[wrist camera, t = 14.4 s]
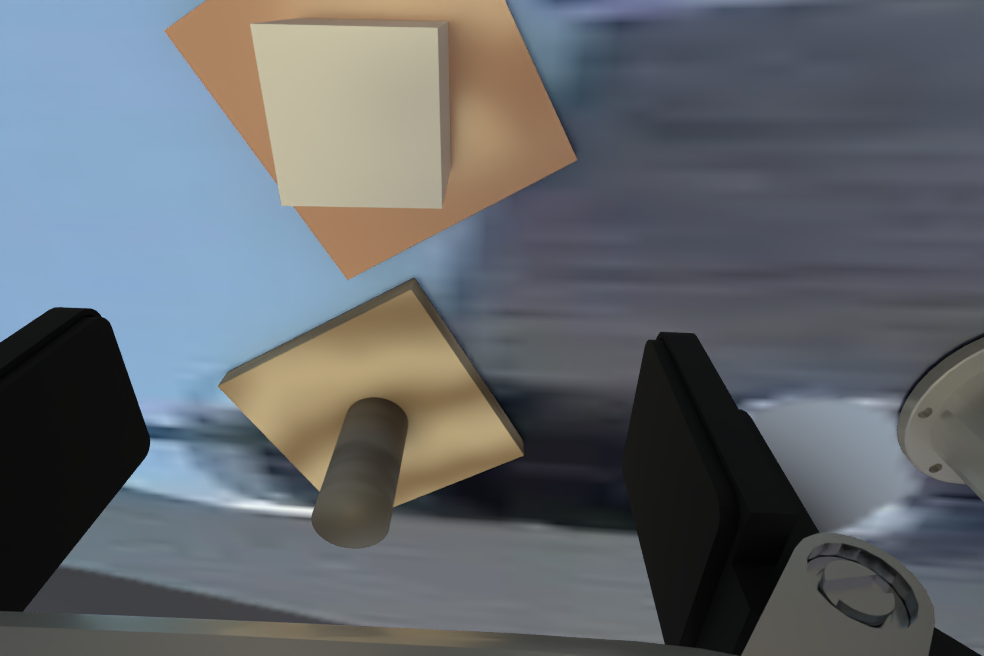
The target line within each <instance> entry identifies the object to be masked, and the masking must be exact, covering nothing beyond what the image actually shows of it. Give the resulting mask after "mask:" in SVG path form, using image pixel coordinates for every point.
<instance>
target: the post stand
mask: <svg viewBox="0 0 984 656" xmlns="http://www.w3.org/2000/svg"><path fill="white" fill-rule="evenodd" d="M218 387H219V388H220V389H221V390H222V391H223V392H224V393H225V394H226V395H227V396H228V397H229V399H230V400H231V401H232V402H233V403H234V404H235V405H236V406H237V407H238V408H239V409H240V410H241V411H242V412H243V413H244V414H245V415H246V416H247V417H248V418H249V419H250V420H251V421H252V422H253V423H254V424H255V425H256V426H257V427H258V428H259V429H260V431H261V432H262V433H263V434H264V435H265V436H266V437H267V438H268V439H269V440H270V441H271V442H272V443H273V444H274V445H275V446H276V447H277V448H278V449H279V450H280V451H281V452H282V453H283V454H284V455H285V456H286V457H287V458H288V459H289V460H290V461H291V463H292V464H293V465H294V466H295V467H296V468H297V469H298V470H299V471H300V472H301V473H302V474H303V475H304V476H305V477H306V478H307V479H308V480H309V481H310V482H311V483H312V484H313V485H314V486H315V487H316V488H317V489H318V490H319V491H320V492H319V495H318V498H317V501H316V504H315V507H314V510H313V513H312V518H311V519H312V525H313V527H314V529H315V531H316V532H317V533H318V534H319V535H320V536H321V537H322V538H323V539H325V540H326V541H328V542H330V543H332V544H334V545H337V546H340V547H344V548H354V549H355V548H365V547H370V546H373V545H375V544H377V543H379V542H380V541H381V540H383V539H384V538H385V536H386V535H387V533H388V531H389V526H390V521H391V516H392V510H393V507H395V506H397V505H400V504H402V503H405V502H407V501H410V500H412V499H415V498H418V497H420V496H423V495H425V494H428V493H430V492H433V491H435V490H438V489H440V488H443V487H445V486H448V485H450V484H453V483H455V482H458V481H460V480H463V479H465V478H468V477H471V476H473V475H476V474H478V473H481V472H483V471H486V470H488V469H491V468H493V467H496V466H498V465H501V464H503V463H506V462H508V461H511V460H513V459H516V458H518V457H521V456H523V455H524V450H523V440H522V438H521V437H520V435H519V434H518V432H517V431H516V429H515V428H514V426H513V425H512V423H511V422H510V420H509V419H508V417H507V416H506V414H505V413H504V411H503V410H502V408H501V407H500V405H499V404H498V402H497V401H496V399H495V398H494V396H493V395H492V393H491V392H490V390H489V389H488V387H487V386H486V384H485V383H484V381H483V380H482V378H481V377H480V375H479V374H478V372H477V371H476V369H475V368H474V366H473V365H472V363H471V362H470V360H469V359H468V357H467V356H466V354H465V353H464V351H463V350H462V348H461V347H460V345H459V344H458V342H457V341H456V339H455V338H454V336H453V335H452V333H451V332H450V330H449V329H448V327H447V326H446V324H445V323H444V321H443V320H442V318H441V317H440V315H439V314H438V312H437V311H436V309H435V308H434V306H433V305H432V303H431V302H430V300H429V299H428V297H427V296H426V294H425V293H424V291H423V290H422V288H421V287H420V285H419V284H418V283H417V281H416V280H415V278H413V279H411V280H409V281H407V282H405V283H403V284H401V285H399V286H397V287H395V288H393V289H391V290H389V291H387V292H385V293H383V294H381V295H379V296H377V297H375V298H373V299H371V300H369V301H367V302H365V303H363V304H361V305H359V306H357V307H355V308H354V309H352V310H350V311H348V312H346V313H344V314H342V315H340V316H338V317H336V318H334V319H332V320H330V321H328V322H326V323H324V324H322V325H320V326H318V327H316V328H314V329H312V330H310V331H308V332H306V333H304V334H302V335H300V336H298V337H296V338H294V339H292V340H290V341H288V342H286V343H284V344H282V345H280V346H278V347H276V348H274V349H272V350H270V351H268V352H266V353H264V354H262V355H261V356H259V357H257V358H255V359H253V360H251V361H249V362H247V363H245V364H243V365H241V366H239V367H237V368H235V369H233V370H231V371H229V372H227V374H226V375H225V376H224V378H223V379H222V381H221V382H220V384H219V385H218Z"/></svg>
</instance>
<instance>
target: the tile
mask: <svg viewBox="0 0 984 656" xmlns="http://www.w3.org/2000/svg"><path fill="white" fill-rule="evenodd" d="M293 18H333V19H377V20H421V21H448V35H449V95H450V154H451V171H450V176H449V180H448V185H447V189H446V194H445V198H444V203H443V207H442V209H430V208H375V207H320V206H294V208H295V209H296V211H297V212H298V213H299V215H300V216H301V217H302V219H303V220H304V221H305V223H306V224H307V225H308V227H309V228H310V230H311V231H312V232H313V234H314V235H315V236H316V238H317V239H318V240H319V242H320V243H321V244H322V246H323V247H324V249H325V250H326V251H327V253H328V254H329V255H330V257H331V258H332V259H333V261H334V262H335V263H336V265H337V266H338V268H339V269H340V270H341V272H342V273H343V274H344V276H345V277H346V278H347V280H348V279H350V278H352V277H354V276H356V275H358V274H360V273H362V272H364V271H366V270H368V269H370V268H371V267H373V266H375V265H377V264H379V263H381V262H383V261H385V260H387V259H389V258H391V257H393V256H394V255H396V254H398V253H400V252H402V251H404V250H406V249H408V248H410V247H412V246H414V245H416V244H417V243H419V242H421V241H423V240H425V239H427V238H429V237H431V236H433V235H435V234H437V233H439V232H440V231H442V230H444V229H446V228H448V227H450V226H452V225H454V224H456V223H458V222H460V221H462V220H464V219H465V218H467V217H469V216H471V215H473V214H475V213H477V212H479V211H481V210H483V209H485V208H487V207H488V206H490V205H492V204H494V203H496V202H498V201H500V200H502V199H504V198H506V197H508V196H510V195H511V194H513V193H515V192H517V191H519V190H521V189H523V188H525V187H527V186H529V185H531V184H533V183H534V182H536V181H538V180H540V179H542V178H544V177H546V176H548V175H550V174H552V173H554V172H556V171H557V170H559V169H561V168H563V167H565V166H567V165H569V164H571V163H573V162H575V161H577V158H576V156H575V154H574V151H573V149H572V147H571V145H570V143H569V140H568V138H567V136H566V134H565V132H564V129H563V127H562V125H561V123H560V120H559V118H558V116H557V114H556V112H555V109H554V107H553V105H552V103H551V101H550V98H549V96H548V94H547V92H546V90H545V87H544V85H543V83H542V81H541V79H540V76H539V74H538V72H537V70H536V67H535V65H534V63H533V61H532V59H531V56H530V54H529V52H528V50H527V48H526V45H525V43H524V41H523V39H522V37H521V34H520V32H519V30H518V28H517V25H516V23H515V21H514V19H513V17H512V14H511V12H510V10H509V8H508V6H507V3H506V1H505V0H206V1H205V2H204V3H202V4H201V5H199V6H198V7H197V8H195V9H194V10H192V11H191V12H190V13H188V14H187V15H185V16H184V17H183V18H181V19H180V20H178V21H177V22H176V23H174V24H173V25H171V26H170V27H169V28H167V29H166V30H164V31H165V33H166V34H167V35H168V37H169V38H170V39H171V41H172V42H173V43H174V45H175V46H176V47H177V49H178V50H179V52H180V53H181V54H182V56H183V57H184V58H185V60H186V61H187V62H188V64H189V65H190V67H191V68H192V69H193V71H194V72H195V73H196V75H197V76H198V77H199V79H200V80H201V81H202V83H203V84H204V86H205V87H206V88H207V90H208V91H209V92H210V94H211V95H212V96H213V98H214V99H215V100H216V102H217V103H218V105H219V106H220V107H221V109H222V110H223V111H224V113H225V114H226V115H227V117H228V118H229V119H230V121H231V122H232V124H233V125H234V126H235V128H236V129H237V130H238V132H239V133H240V134H241V136H242V137H243V139H244V140H245V141H246V143H247V144H248V145H249V147H250V148H251V149H252V151H253V152H254V153H255V155H256V156H257V158H258V159H259V160H260V162H261V163H262V164H263V166H264V167H265V168H266V170H267V171H268V172H269V174H270V175H271V177H272V178H273V179H274V181H275V182H276V183H277V185H278V182H277V177H276V171H275V165H274V159H273V154H272V148H271V142H270V136H269V131H268V125H267V119H266V113H265V108H264V102H263V96H262V90H261V85H260V79H259V73H258V67H257V62H256V56H255V50H254V44H253V39H252V33H251V27H250V24H251V23H260V22H268V21H276V20H285V19H293Z"/></svg>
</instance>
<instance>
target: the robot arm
mask: <svg viewBox="0 0 984 656" xmlns="http://www.w3.org/2000/svg"><path fill="white" fill-rule="evenodd" d="M897 434H898V442H899V445H900V447H901V450H902V452H903V453H904V454H905V455H906V457H907V458H908V459H909V460H910V462H911V463H912V464H913V465H914V466H915V467H916V468H917V469H918V470H920V471H921V472H922V473H924V474H926V475H927V476H929V477H931V478H933V479H937V480H940V481H944V482H948V483H958V484H967V485H968V486H969V487H970V488H971V489H972V490H973V491H974V492H975V493H976V495H977V496H978V497H979V498H980V499H981V500H982V501H983V502H984V337H983V338H980V339H978V340H976V341H974V342H972V343H970V344H968V345H966V346H964V347H962V348H961V349H959V350H958V351H956V352H954V353H953V354H951V355H950V356H948V357H946V358H945V359H944V360H943V361H941V362H940V363H939V364H938V365H937V366H935V367H934V368H933V369H932V370H930V371H929V372H928V373H927V374H926V376H925V377H924V378H923V379H922V380H921V381H920V382H919V383H918V384H917V385H916V387H915V388H914V390H913V391H912V392H911V394H910V395H909V397H908V398H907V400H906V402H905V404H904V406H903V409H902V411H901V413H900V416H899V421H898V426H897ZM149 447H150V437H149V433H148V431H147V428H146V425H145V422H144V419H143V416H142V413H141V410H140V407H139V405H138V402H137V399H136V396H135V393H134V390H133V387H132V384H131V381H130V379H129V376H128V373H127V370H126V367H125V364H124V361H123V358H122V355H121V352H120V350H119V347H118V344H117V341H116V338H115V335H114V332H113V329H112V326H111V324H110V322H109V321H108V320H107V319H105V318H103V317H101V315H100V314H99V313H98V312H97V311H96V310H93V309H88V308H63V307H55V308H53V309H50V310H48V311H47V312H45V313H44V314H42V315H41V316H39V317H38V318H36V319H35V320H33V321H32V322H30V323H29V324H27V325H26V326H24V327H23V328H21V329H20V330H18V331H17V332H15V333H14V334H12V335H11V336H9V337H8V338H6V339H5V340H3V341H2V342H0V656H981V655H980V654H978V653H976V652H975V651H973V650H971V649H970V648H968V647H966V646H965V645H963V644H961V643H960V642H958V641H956V640H955V639H953V638H951V637H950V636H948V635H946V634H945V633H943V632H941V631H940V630H938V629H937V628H935V627H934V625H935V617H934V606H933V604H932V602H931V600H930V598H929V596H928V593H927V591H926V589H925V588H924V587H923V586H922V584H921V583H920V582H919V581H918V580H917V578H916V577H915V576H914V575H913V573H912V572H911V571H909V570H908V569H907V568H906V567H905V566H904V565H902V564H901V563H900V562H899V561H898V560H896V559H895V558H894V557H892V556H891V555H889V554H888V553H886V552H884V551H883V550H881V549H879V548H878V547H876V546H874V545H872V544H870V543H867V542H865V541H862V540H860V539H857V538H855V537H851V536H846V535H841V534H837V533H819V531H818V529H817V528H816V526H815V525H814V523H813V521H812V519H811V518H810V516H809V514H808V513H807V511H806V509H805V508H804V506H803V504H802V503H801V501H800V499H799V497H798V496H797V494H796V492H795V491H794V489H793V487H792V486H791V484H790V482H789V481H788V479H787V477H786V475H785V474H784V472H783V471H782V469H781V467H780V465H779V464H778V462H777V460H776V459H775V457H774V455H773V454H772V452H771V450H770V449H769V447H768V445H767V443H766V442H765V440H764V439H763V437H762V435H761V434H760V432H759V430H758V428H757V427H756V425H755V423H754V422H753V420H752V418H751V417H750V416H749V414H748V413H747V412H745V411H743V410H739V409H738V407H737V406H736V404H735V402H734V400H733V399H732V397H731V395H730V393H729V392H728V390H727V388H726V386H725V385H724V383H723V381H722V379H721V378H720V376H719V374H718V372H717V371H716V369H715V367H714V365H713V364H712V362H711V360H710V359H709V357H708V355H707V353H706V352H705V350H704V348H703V346H702V345H701V343H700V341H699V339H698V338H697V336H696V335H695V334H693V333H674V332H660V333H659V334H658V336H657V339H656V340H648V341H647V342H646V345H645V349H644V354H643V359H642V364H641V369H640V374H639V379H638V384H637V389H636V394H635V399H634V404H633V409H632V414H631V419H630V424H629V429H628V434H627V439H626V444H625V449H624V454H623V464H622V466H623V477H624V481H625V485H626V489H627V493H628V497H629V501H630V505H631V509H632V513H633V517H634V521H635V525H636V529H637V534H638V538H639V542H640V546H641V550H642V554H643V558H644V562H645V566H646V570H647V574H648V578H649V582H650V586H651V590H652V594H653V598H654V602H655V606H656V610H657V614H658V618H659V622H660V626H661V630H662V634H663V638H664V642H665V645H664V644H655V643H646V642H637V641H623V640H608V639H592V638H577V637H561V636H546V635H530V634H515V633H495V632H474V631H453V630H432V629H411V628H390V627H369V626H348V625H326V624H304V623H281V622H256V621H233V620H211V619H187V618H161V617H138V616H114V615H89V614H63V613H35V612H23V611H24V609H25V608H26V606H28V604H29V603H30V602H31V601H32V599H33V598H34V597H35V595H36V594H37V593H38V592H39V591H40V589H41V588H42V587H43V586H44V584H45V583H46V582H47V581H48V579H49V578H50V577H51V576H52V574H53V573H54V572H55V570H56V569H57V568H58V567H59V565H60V564H61V563H62V562H63V560H64V559H65V558H66V557H67V555H68V554H69V553H70V552H71V550H72V549H73V548H74V547H75V545H76V544H77V543H78V542H79V540H80V539H81V538H82V537H83V535H84V534H85V533H86V532H87V530H88V529H89V528H90V527H91V525H92V524H93V523H94V521H95V520H96V519H97V518H98V516H99V515H100V514H101V513H102V511H103V510H104V509H105V508H106V506H107V505H108V504H109V503H110V501H111V500H112V499H113V498H114V496H115V495H116V494H117V493H118V491H119V490H120V489H121V488H122V486H123V485H124V484H125V483H126V481H127V480H128V479H129V478H130V476H131V475H132V474H133V472H134V471H135V470H136V469H137V467H138V466H139V465H140V464H141V462H142V461H143V460H144V459H145V457H146V456H147V454H148V451H149Z"/></svg>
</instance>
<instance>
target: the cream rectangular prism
mask: <svg viewBox="0 0 984 656" xmlns="http://www.w3.org/2000/svg"><path fill="white" fill-rule="evenodd" d="M250 27H251V33H252V39H253V44H254V50H255V56H256V62H257V67H258V73H259V79H260V85H261V90H262V96H263V102H264V108H265V113H266V119H267V125H268V131H269V136H270V142H271V148H272V154H273V159H274V165H275V171H276V177H277V182H278V188H279V194H280V200H281V205H282V206H320V207H375V208H430V209H442V207H443V203H444V198H445V194H446V189H447V185H448V180H449V176H450V171H451V154H450V95H449V35H448V21H421V20H377V19H333V18H293V19H285V20H276V21H268V22H260V23H251V24H250Z"/></svg>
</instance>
